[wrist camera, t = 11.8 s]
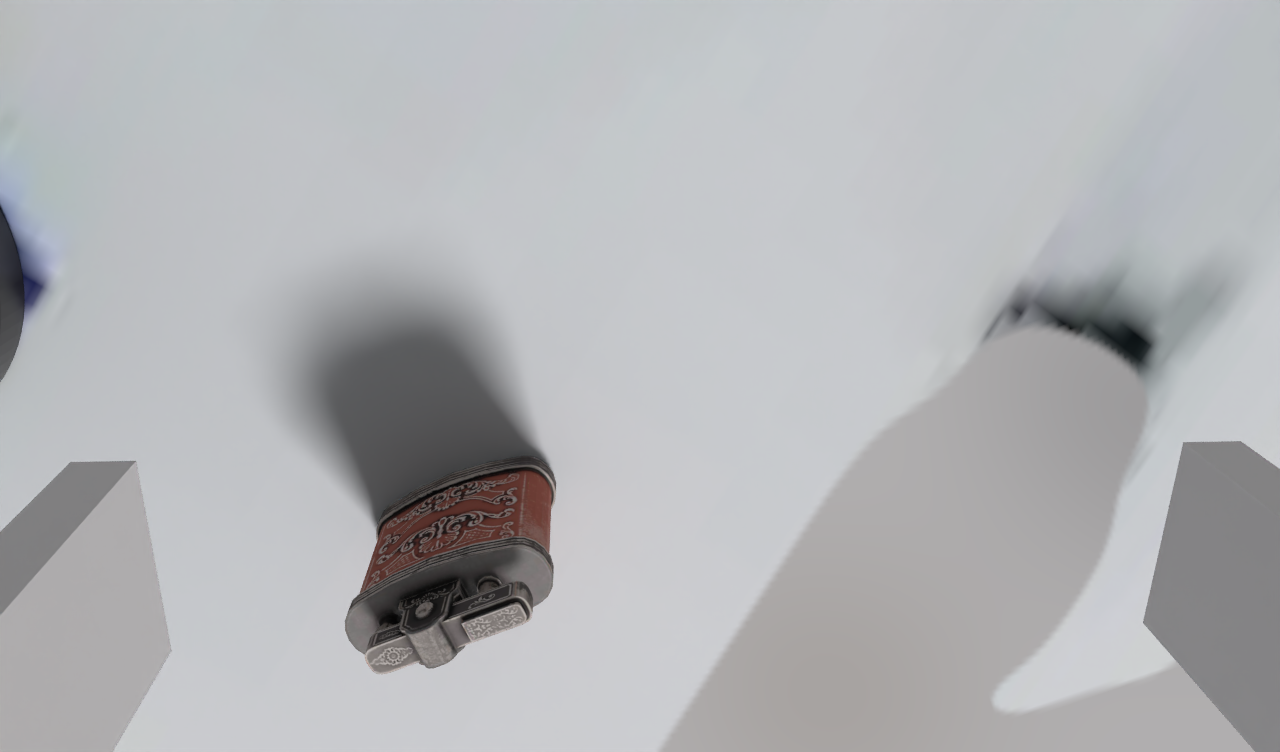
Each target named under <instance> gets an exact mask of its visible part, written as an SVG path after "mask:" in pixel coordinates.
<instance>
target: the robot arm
mask: <svg viewBox="0 0 1280 752" xmlns="http://www.w3.org/2000/svg"><path fill="white" fill-rule="evenodd" d="M23 319H24V284H23V276H22V270H21V265H20V261H19V257H18V253H17V249H16V246H15V243H14V240H13V237H12V235H11V232H10V230H9V227H8V225H7V223H6V220H5V218H4V216H3V214H2V212H1V210H0V382H1V380H2V379H3V377H4V375H5V374H6V372H7V370H8V368H9V366H10V364H11V362H12V360H13V358H14V355H15V353H16V350H17V347H18V344H19V340H20V336H21V332H22V326H23ZM1143 623H1144V624H1145V626H1146V627H1147V628H1148V629H1149V630H1150V631H1151V632H1152V634H1153V635H1154V636H1155V637H1156V638H1157V639H1158V640H1159V642H1160V643H1161V644H1162V645H1163V646H1164V647H1165V649H1166V650H1167V651H1168V652H1169V653H1170V654H1171V655H1172V657H1173V658H1174V659H1175V660H1176V661H1177V662H1178V663H1179V665H1180V666H1181V667H1182V668H1183V669H1184V670H1185V671H1186V672H1187V674H1188V675H1189V676H1190V677H1191V678H1192V679H1193V681H1194V682H1195V683H1196V684H1197V685H1198V686H1199V688H1200V689H1201V690H1202V691H1203V692H1204V693H1205V694H1206V695H1207V697H1208V698H1209V699H1210V700H1211V701H1212V702H1213V704H1214V705H1215V706H1216V707H1217V708H1218V709H1219V711H1220V712H1221V713H1222V714H1223V715H1224V716H1225V717H1226V718H1227V720H1228V721H1229V722H1230V723H1231V724H1232V725H1233V727H1234V728H1235V729H1236V730H1237V731H1238V732H1239V733H1240V735H1241V736H1242V737H1243V738H1244V739H1245V740H1246V742H1247V743H1248V744H1249V745H1250V746H1251V747H1252V748H1253V749H1254V751H1255V752H1280V469H1279V468H1277V467H1276V466H1275V465H1273V464H1272V463H1270V462H1269V461H1268V460H1266V459H1265V458H1263V457H1262V456H1261V455H1259V454H1258V453H1256V452H1255V451H1254V450H1252V449H1251V448H1249V447H1248V446H1246V445H1245V444H1244V443H1242V442H1241V441H1234V442H1183V447H1182V451H1181V455H1180V460H1179V464H1178V469H1177V473H1176V478H1175V482H1174V487H1173V491H1172V496H1171V500H1170V505H1169V509H1168V514H1167V518H1166V523H1165V527H1164V531H1163V536H1162V540H1161V545H1160V549H1159V554H1158V558H1157V563H1156V567H1155V572H1154V576H1153V581H1152V585H1151V590H1150V594H1149V599H1148V603H1147V607H1146V612H1145V616H1144V621H1143ZM170 652H171V645H170V640H169V635H168V629H167V624H166V619H165V613H164V608H163V603H162V597H161V592H160V587H159V581H158V576H157V571H156V565H155V560H154V555H153V549H152V544H151V539H150V533H149V528H148V523H147V517H146V512H145V507H144V501H143V496H142V491H141V485H140V480H139V474H138V469H137V464H136V461H112V462H70V463H69V464H68V465H67V466H66V467H65V468H64V469H63V470H62V471H61V472H60V473H59V474H58V475H57V476H56V477H55V478H54V479H53V480H52V481H51V482H50V483H49V484H48V485H47V486H46V487H45V488H44V489H43V490H42V491H41V492H40V493H39V494H38V495H37V496H36V497H35V498H34V499H33V500H32V501H31V502H30V503H29V504H28V505H27V506H26V507H25V508H24V509H23V510H22V511H21V512H20V513H19V514H18V515H17V516H16V517H15V518H14V519H13V520H12V521H11V522H10V523H9V524H8V525H7V526H6V527H5V528H4V529H3V530H2V531H1V532H0V752H113V750H114V748H115V747H116V745H117V743H118V742H119V740H120V738H121V736H122V735H123V733H124V731H125V730H126V728H127V726H128V724H129V723H130V721H131V719H132V718H133V716H134V714H135V712H136V711H137V709H138V707H139V706H140V704H141V702H142V700H143V699H144V697H145V695H146V694H147V692H148V690H149V688H150V687H151V685H152V683H153V682H154V680H155V678H156V676H157V675H158V673H159V671H160V670H161V668H162V666H163V664H164V663H165V661H166V659H167V658H168V656H169V654H170Z"/></svg>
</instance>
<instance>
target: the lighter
mask: <svg viewBox="0 0 1280 752" xmlns="http://www.w3.org/2000/svg"><path fill="white" fill-rule="evenodd" d="M555 495H556V481H555V477H554V474H553V472H552V471H551V469H550V468H549V466H548V465H547V464H545V463H544V462H543V461H541V460H540V459H537V458H535V457H532V456H520V457H515V458H509V459H504V460H499V461H493V462H488V463H484V464H481V465H478V466H474V467H471V468H468V469H465V470H461V471H458V472H455V473H451V474H449V475H447V476H445V477H443V478H440V479H438V480H436V481H434V482H432V483H429V484H427V485H425V486H423V487H421V488H419V489H417V490H415V491H413V492H412V493H410V494H409V495H407V496H405V497H404V498H402V499H400V500H399V501H397V502H395V503H394V504H392V505H390V506H389V507H388V508H387V509H386V510H385V511H384V512H383V514H382V516H381V518H380V521H379V524H378V527H377V530H376V539H377V544H376V547H375V550H374V552H373V555H372V558H371V561H370V564H369V567H368V570H367V573H366V576H365V579H364V582H363V585H362V588H361V591H360V594H359V595H358V596H357V597H356V598H354V599H353V601H352V603H351V606H350V608H349V611H348V614H347V617H346V619H345V631H346V634H347V636H348V639H349V641H350V642H351V643H352V644H353V646H354V647H355V648H356V649H357V650H358V651H360V652H362V653H363V654H365V659H366V662H367V664H368V666H369V667H370V668H371V670H372V671H373V672H375V673H377V674H387V673H390V672H393V671H396V670H399V669H401V668H404V667H407V666H410V665H412V664H415V663H418V662H419V664H421V665H425V666H426V667H427V668H436V667H438V666H441V665H444V664H446V663H448V662H449V661H451V660H452V659H453V658H454V657H455V656H456V655H457V653H458V652H460V651H461V650H462V649H463V648H464V647H465V645H467V644H470V643H473V642H476V641H478V640H481V639H484V638H487V637H489V636H492V635H495V634H498V633H500V632H503V631H506V630H509V629H511V628H514V627H517V626H520V625H522V624H524V623H526V622H528V621H529V620H530V619H531V618H532V611H533V607H534V606H536V605H538V604H539V603H541V602H542V601H543V600H544V599H545V598H547V597H548V595H549V593H550V591H551V589H552V587H553V568H554V566H553V563H552V559H551V556H550V554H549V547H550V521H551V509H552V507H553V505H554V502H555Z"/></svg>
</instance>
